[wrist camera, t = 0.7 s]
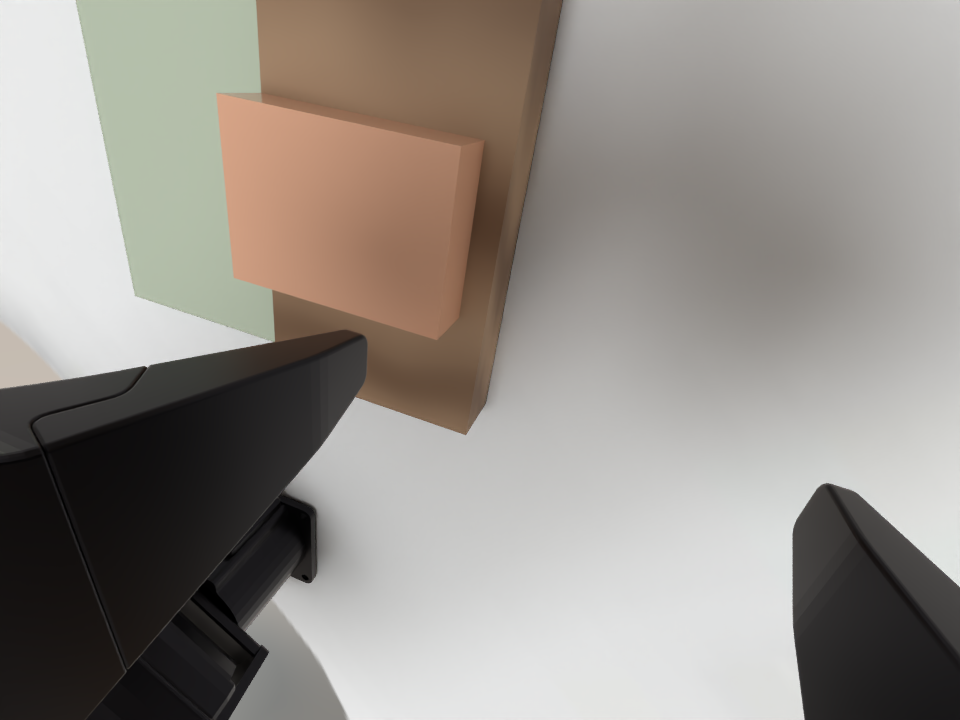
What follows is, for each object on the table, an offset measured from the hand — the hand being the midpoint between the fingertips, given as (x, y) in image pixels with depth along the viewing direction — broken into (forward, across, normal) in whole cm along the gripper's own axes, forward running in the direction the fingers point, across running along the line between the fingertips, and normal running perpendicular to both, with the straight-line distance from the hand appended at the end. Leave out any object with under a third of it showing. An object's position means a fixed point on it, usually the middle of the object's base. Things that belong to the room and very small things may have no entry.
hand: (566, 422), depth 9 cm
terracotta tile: (+9, +9, 0) cm, 12 cm away
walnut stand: (+11, +8, 0) cm, 14 cm away
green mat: (+11, +18, 0) cm, 21 cm away
